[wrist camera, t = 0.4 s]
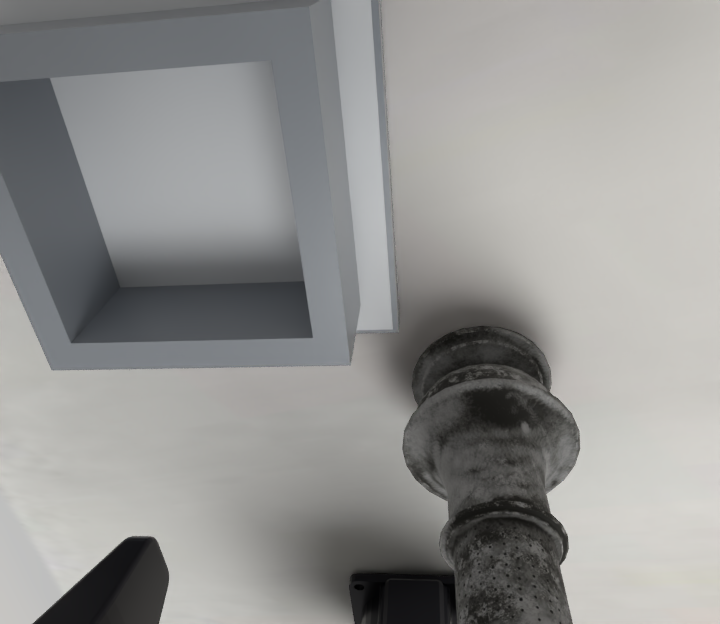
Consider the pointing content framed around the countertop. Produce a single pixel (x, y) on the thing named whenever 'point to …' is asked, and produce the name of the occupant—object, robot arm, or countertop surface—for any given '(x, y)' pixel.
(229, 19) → the dock
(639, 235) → the countertop surface
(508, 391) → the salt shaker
